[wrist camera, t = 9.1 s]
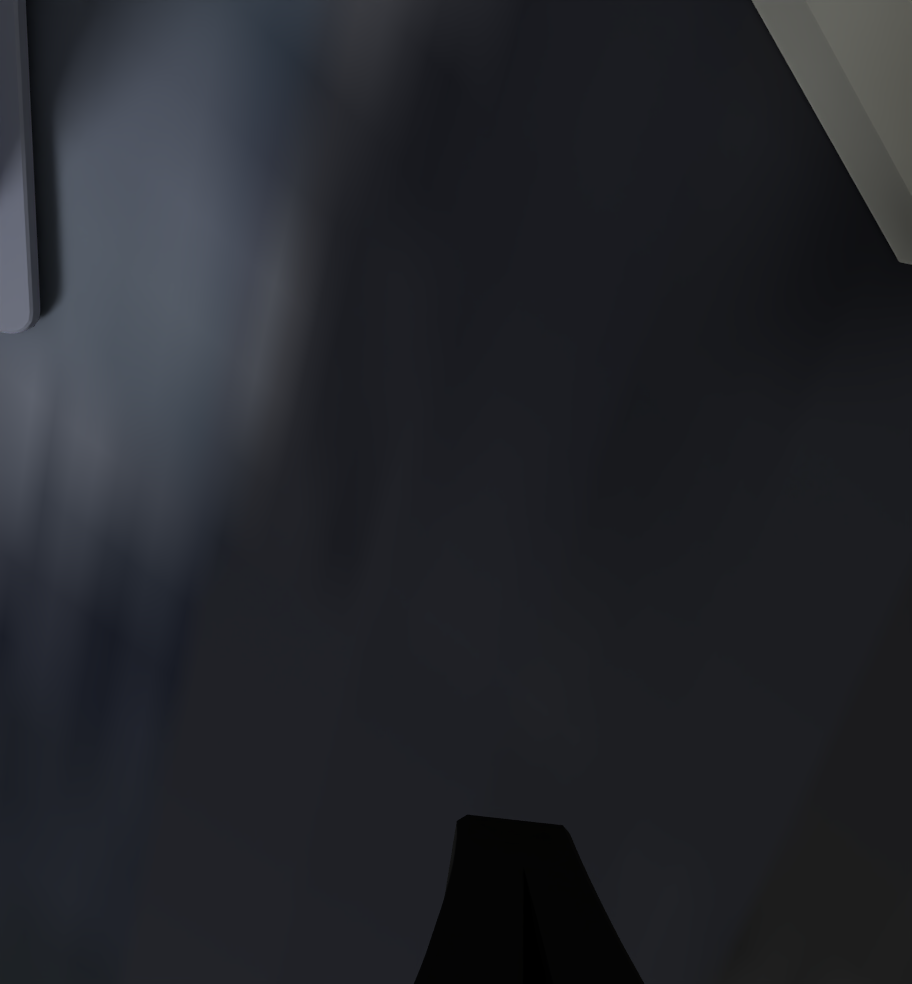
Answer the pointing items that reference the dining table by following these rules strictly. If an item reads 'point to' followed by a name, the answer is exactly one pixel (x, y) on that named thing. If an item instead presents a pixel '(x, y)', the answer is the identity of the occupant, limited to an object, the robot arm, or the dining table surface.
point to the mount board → (858, 93)
